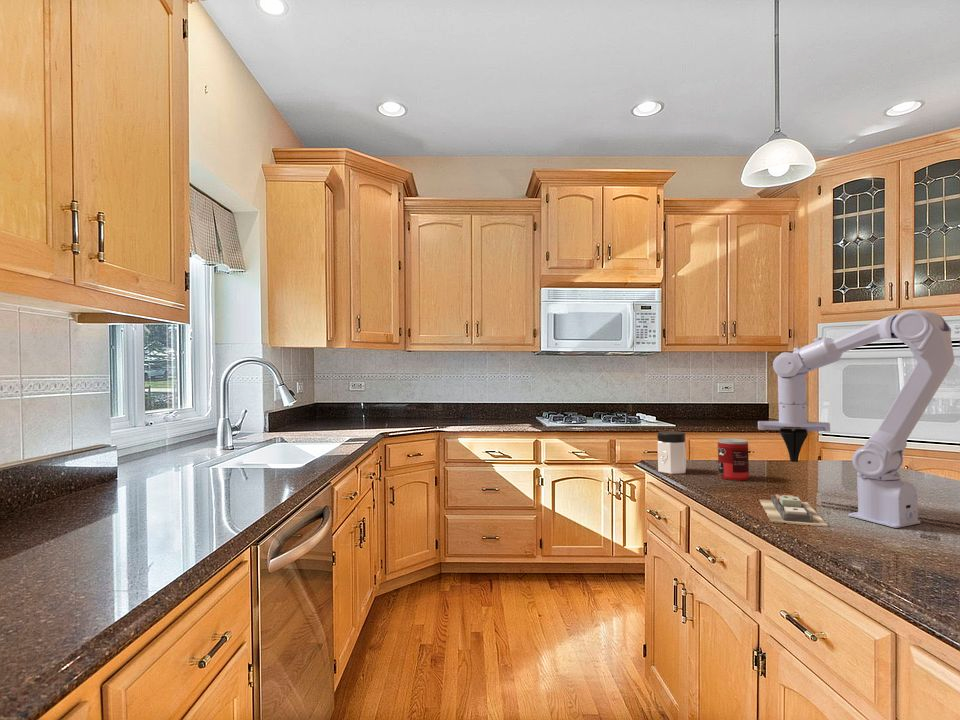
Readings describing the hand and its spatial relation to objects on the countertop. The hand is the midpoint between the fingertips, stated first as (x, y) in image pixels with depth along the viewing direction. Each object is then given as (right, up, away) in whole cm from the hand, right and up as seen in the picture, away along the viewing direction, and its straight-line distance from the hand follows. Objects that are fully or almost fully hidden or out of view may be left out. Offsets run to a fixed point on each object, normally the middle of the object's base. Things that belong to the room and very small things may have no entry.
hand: (793, 461), depth 123 cm
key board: (-5, -10, -8) cm, 14 cm away
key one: (-7, -9, -13) cm, 17 cm away
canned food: (-1, -11, +27) cm, 29 cm away
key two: (-5, -8, -8) cm, 12 cm away
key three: (-3, -9, -3) cm, 10 cm away
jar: (-14, -11, +39) cm, 43 cm away
